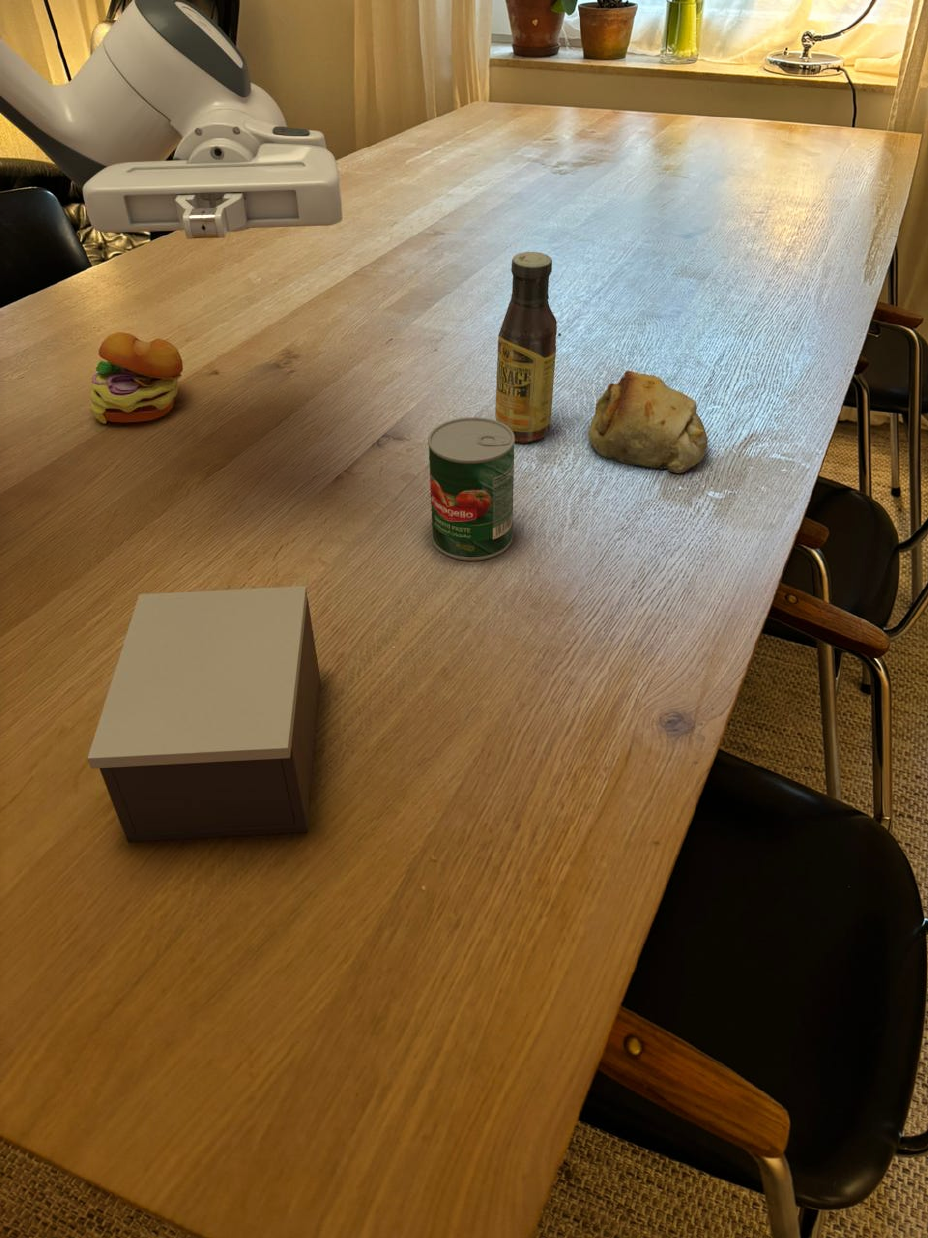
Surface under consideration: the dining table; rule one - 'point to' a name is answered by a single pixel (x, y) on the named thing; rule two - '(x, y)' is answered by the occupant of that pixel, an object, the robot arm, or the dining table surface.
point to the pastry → (648, 425)
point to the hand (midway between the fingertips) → (203, 227)
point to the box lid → (204, 679)
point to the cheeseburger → (135, 379)
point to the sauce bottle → (527, 351)
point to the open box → (226, 782)
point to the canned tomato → (472, 487)
